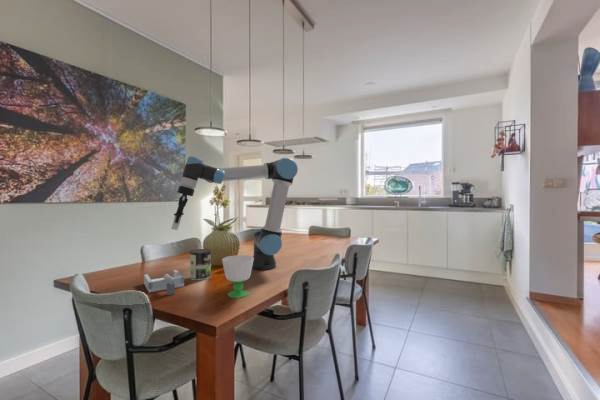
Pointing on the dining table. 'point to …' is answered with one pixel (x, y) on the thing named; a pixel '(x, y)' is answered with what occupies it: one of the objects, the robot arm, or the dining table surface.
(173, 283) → the tray
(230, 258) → the cup
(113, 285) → the dining table surface
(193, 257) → the coffee can
